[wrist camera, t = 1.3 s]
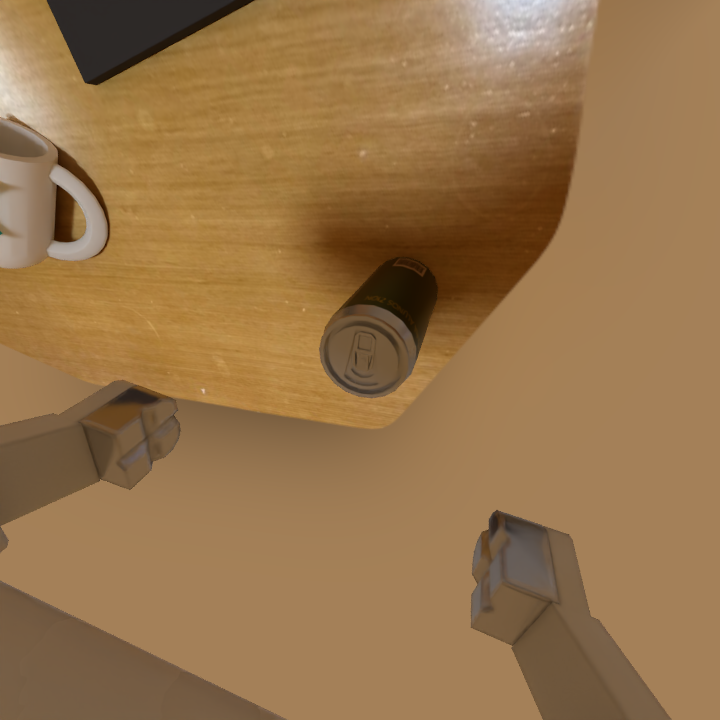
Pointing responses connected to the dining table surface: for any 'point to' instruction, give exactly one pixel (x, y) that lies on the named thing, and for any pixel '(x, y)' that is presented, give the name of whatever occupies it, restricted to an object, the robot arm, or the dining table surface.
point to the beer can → (380, 329)
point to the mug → (40, 202)
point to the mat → (129, 29)
